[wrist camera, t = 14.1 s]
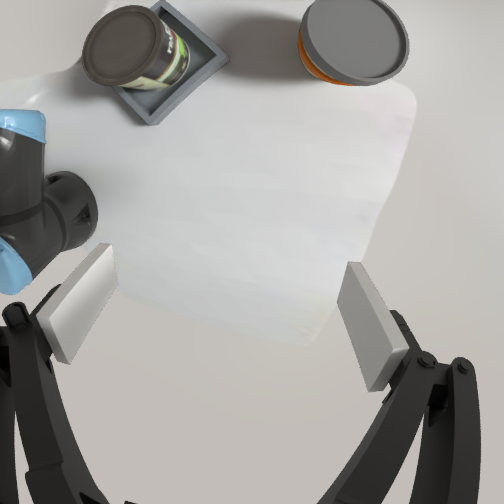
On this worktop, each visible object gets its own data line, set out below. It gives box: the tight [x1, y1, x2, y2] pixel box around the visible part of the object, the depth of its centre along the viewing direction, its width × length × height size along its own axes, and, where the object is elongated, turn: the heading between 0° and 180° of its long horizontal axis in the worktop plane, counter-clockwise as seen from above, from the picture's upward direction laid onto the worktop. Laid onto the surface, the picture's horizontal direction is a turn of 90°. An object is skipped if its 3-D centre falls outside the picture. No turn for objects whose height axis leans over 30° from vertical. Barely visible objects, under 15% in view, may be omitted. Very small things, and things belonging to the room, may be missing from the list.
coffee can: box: [82, 5, 190, 92], centre depth 28 cm, size 10×10×14 cm
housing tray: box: [111, 0, 230, 126], centre depth 33 cm, size 15×15×4 cm
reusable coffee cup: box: [298, 0, 409, 86], centre depth 28 cm, size 13×12×15 cm
